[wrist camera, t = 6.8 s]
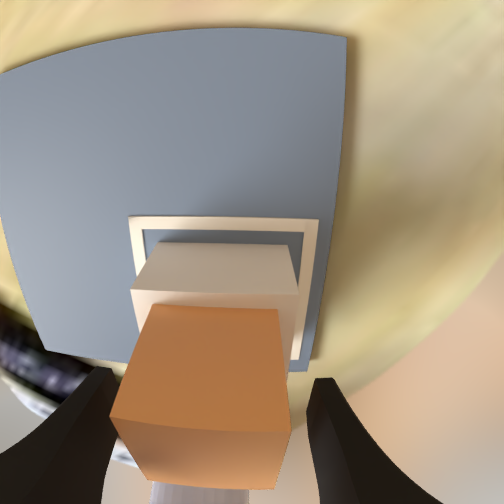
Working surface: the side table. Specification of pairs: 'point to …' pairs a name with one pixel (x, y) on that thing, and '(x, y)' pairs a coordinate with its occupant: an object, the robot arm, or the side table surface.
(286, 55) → the board
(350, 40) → the side table surface
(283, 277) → the base block
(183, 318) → the orange block
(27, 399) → the side table surface
